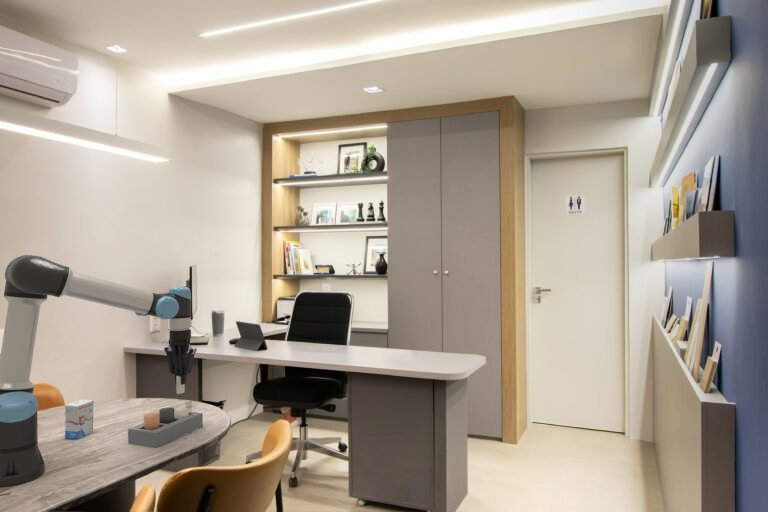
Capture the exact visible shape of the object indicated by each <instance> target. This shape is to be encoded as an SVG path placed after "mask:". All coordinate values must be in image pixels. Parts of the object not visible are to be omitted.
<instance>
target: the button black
mask: <svg viewBox="0 0 768 512" xmlns="http://www.w3.org/2000/svg"><path fill="white" fill-rule="evenodd" d="M174 410H175V408H174V407H164V408H160V409H159V411H158V412H159V413H158V414H159V418H160V423H164V424H169V423H172V422H174Z"/></svg>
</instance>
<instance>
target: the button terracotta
mask: <svg viewBox="0 0 768 512" xmlns="http://www.w3.org/2000/svg"><path fill="white" fill-rule="evenodd" d="M143 423H144V429H145V430H155V429H157V428H160V418H159V413H157V412H156V413H155V412H153V413H147V414H144V416H143Z"/></svg>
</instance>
